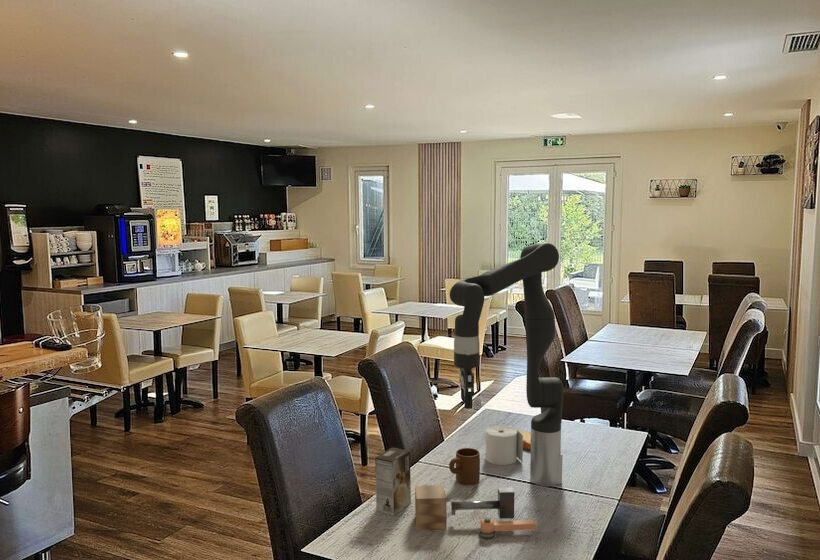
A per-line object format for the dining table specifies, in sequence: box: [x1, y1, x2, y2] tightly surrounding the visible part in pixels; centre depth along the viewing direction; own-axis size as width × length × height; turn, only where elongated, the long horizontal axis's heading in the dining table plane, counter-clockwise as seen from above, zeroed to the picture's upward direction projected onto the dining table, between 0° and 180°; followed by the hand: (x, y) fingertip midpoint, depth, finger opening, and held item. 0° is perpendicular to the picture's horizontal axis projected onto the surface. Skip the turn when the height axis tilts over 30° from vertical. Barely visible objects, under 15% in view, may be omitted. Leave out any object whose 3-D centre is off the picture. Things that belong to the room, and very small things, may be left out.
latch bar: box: [479, 517, 537, 534], centre depth 166 cm, size 4×15×3 cm, turn 93°
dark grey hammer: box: [450, 486, 515, 520], centre depth 173 cm, size 17×3×8 cm, turn 92°
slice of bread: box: [516, 429, 531, 452], centre depth 232 cm, size 18×18×4 cm
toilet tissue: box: [485, 425, 524, 466], centre depth 216 cm, size 11×12×10 cm
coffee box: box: [374, 447, 412, 516], centre depth 181 cm, size 9×6×16 cm
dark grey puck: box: [478, 528, 497, 540], centre depth 166 cm, size 4×4×1 cm
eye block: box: [414, 484, 448, 532], centre depth 172 cm, size 8×8×9 cm
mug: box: [448, 447, 481, 486], centre depth 198 cm, size 12×8×9 cm, turn 133°
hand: (466, 403), depth 187 cm, fingers open, 8 cm apart
